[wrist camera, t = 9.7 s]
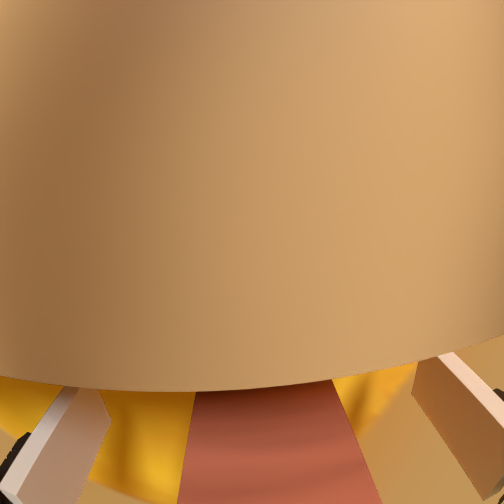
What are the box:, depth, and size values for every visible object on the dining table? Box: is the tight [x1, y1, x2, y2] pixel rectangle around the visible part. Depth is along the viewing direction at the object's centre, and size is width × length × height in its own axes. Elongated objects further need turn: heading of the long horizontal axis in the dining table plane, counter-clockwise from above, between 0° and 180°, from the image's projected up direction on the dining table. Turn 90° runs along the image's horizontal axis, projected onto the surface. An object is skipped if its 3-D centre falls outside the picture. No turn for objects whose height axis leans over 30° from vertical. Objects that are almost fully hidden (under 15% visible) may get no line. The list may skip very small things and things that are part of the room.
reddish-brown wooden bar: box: [177, 379, 382, 504], centre depth 9 cm, size 4×4×12 cm
